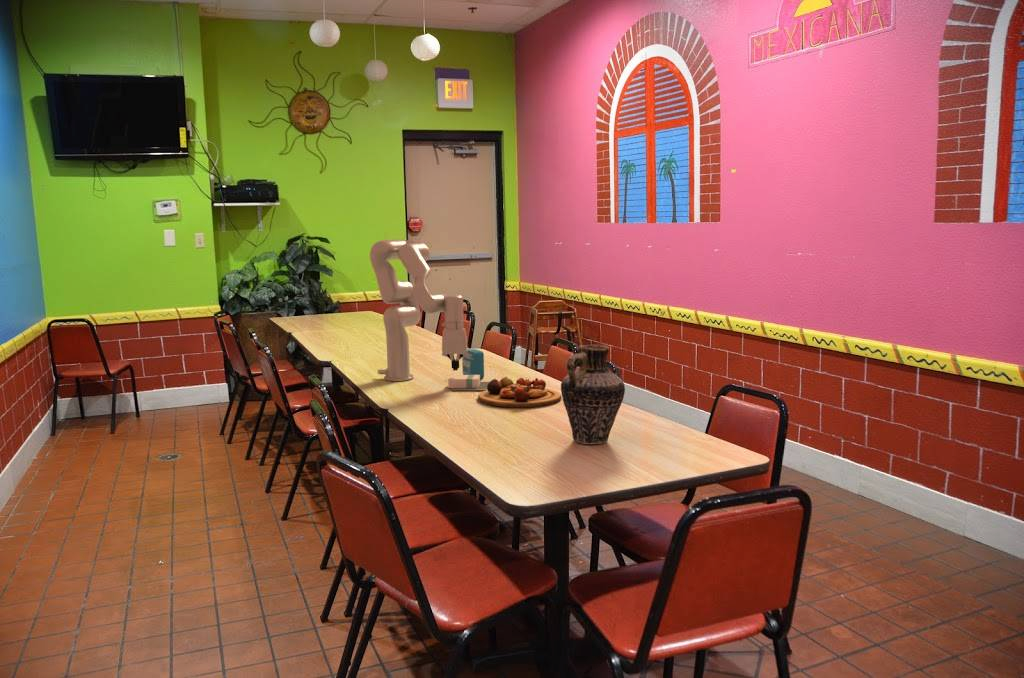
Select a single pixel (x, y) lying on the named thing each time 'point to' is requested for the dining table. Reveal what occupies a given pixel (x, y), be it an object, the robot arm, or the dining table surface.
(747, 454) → the dining table surface
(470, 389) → the mat
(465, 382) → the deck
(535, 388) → the wooden plate with food
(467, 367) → the data package
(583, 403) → the jug
